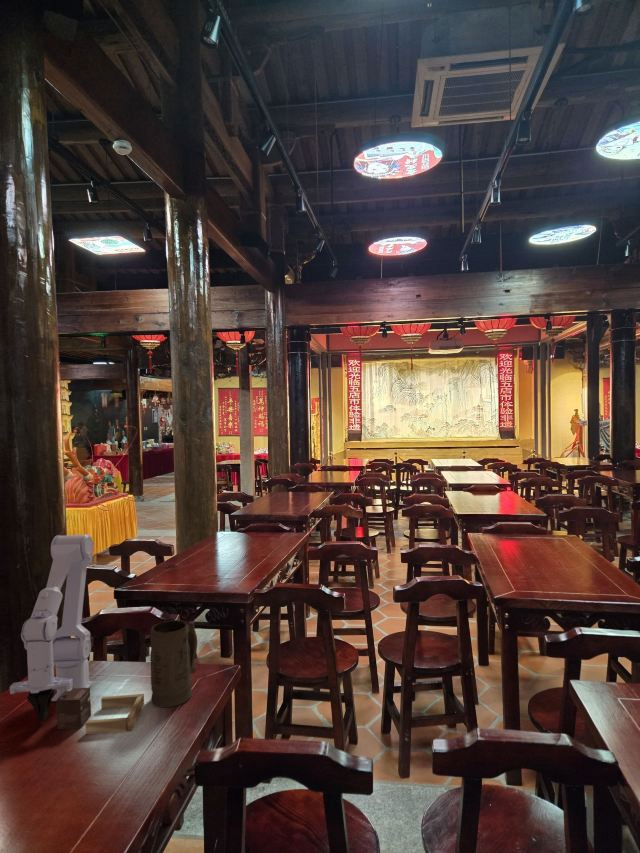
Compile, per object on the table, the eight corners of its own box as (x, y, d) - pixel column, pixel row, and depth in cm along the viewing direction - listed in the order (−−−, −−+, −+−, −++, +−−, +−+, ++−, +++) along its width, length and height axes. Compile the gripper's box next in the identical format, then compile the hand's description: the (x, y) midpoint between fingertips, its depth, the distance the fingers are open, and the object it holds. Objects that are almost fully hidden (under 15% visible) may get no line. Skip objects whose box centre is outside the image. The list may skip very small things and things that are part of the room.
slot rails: (103, 707, 140) (102, 696, 140) (144, 704, 141) (143, 693, 141) (85, 734, 127) (85, 723, 127) (130, 731, 128) (130, 719, 128)
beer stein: (174, 712, 136) (175, 633, 137) (141, 705, 140) (141, 628, 141) (207, 687, 151) (207, 616, 152) (175, 682, 154) (176, 612, 155)
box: (80, 728, 130) (79, 699, 130) (56, 729, 130) (55, 700, 130) (91, 715, 136) (90, 687, 136) (68, 715, 136) (67, 687, 136)
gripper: (2, 674, 128) (4, 730, 128) (63, 670, 129) (66, 725, 129) (17, 661, 135) (19, 714, 135) (75, 657, 136) (77, 710, 136)
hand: (42, 718), depth 133 cm, fingers closed
